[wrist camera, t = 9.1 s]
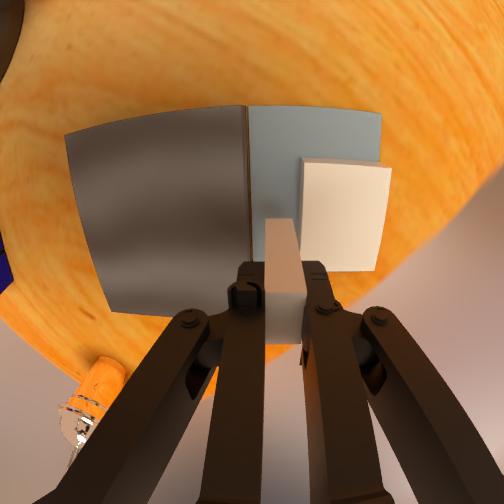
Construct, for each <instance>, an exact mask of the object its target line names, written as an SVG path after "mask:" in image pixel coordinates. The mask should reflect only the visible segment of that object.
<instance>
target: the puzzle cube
mask: <svg viewBox="0 0 504 504" xmlns="http://www.w3.org/2000/svg"><path fill="white" fill-rule="evenodd" d="M3 248H4V246H3V243H2V239H1V234H0V294H1V293H2V292H3V291H4V290H5V289H6V288H7V287H8V286H9V285H10V284H11V283H12V282H13V277H12V274H11V270H10V267H9V264H8V261H7V257H6V254H5V251H4V250H3Z"/></svg>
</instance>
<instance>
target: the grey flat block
mask: <svg viewBox="0 0 504 504" xmlns="http://www.w3.org/2000/svg"><path fill="white" fill-rule="evenodd" d="M64 136H65V143H66V151H67V157H68V163H69V169H70V174H71V180H72V185H73V189H74V194H75V199H76V203H77V207H78V211H79V215H80V219H81V223H82V227H83V230H84V234H85V237H86V241H87V244H88V247H89V251H90V254H91V257H92V260H93V263H94V266H95V269H96V272H97V275H98V278H99V281H100V283H101V286H102V289H103V291H104V294H105V297H106V299H107V302H108V304H109V307H110V309H111V312H119V313H129V314H139V315H151V316H164V317H174V316H175V315H176V314H177V313H178V312H180V311H183V310H185V309H191V308H193V309H199V310H202V311H204V312H205V313H206V314H207V316H211V315H216V314H219V313H222V312H224V311H226V310H227V309H228V308H229V305H228V295H227V289H228V287H229V286H230V285H231V284H233V283H234V282H236V279H237V273H238V267H239V266H240V265H241V264H242V263H243V262H244V261H251V247H250V218H249V188H248V158H247V128H246V106H242V105H238V106H220V107H207V108H197V109H188V110H179V111H172V112H165V113H158V114H152V115H146V116H140V117H135V118H130V119H125V120H120V121H115V122H111V123H107V124H103V125H98V126H94V127H91V128H87V129H83V130H80V131H76V132H73V133H69V134H66V135H64Z"/></svg>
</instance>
